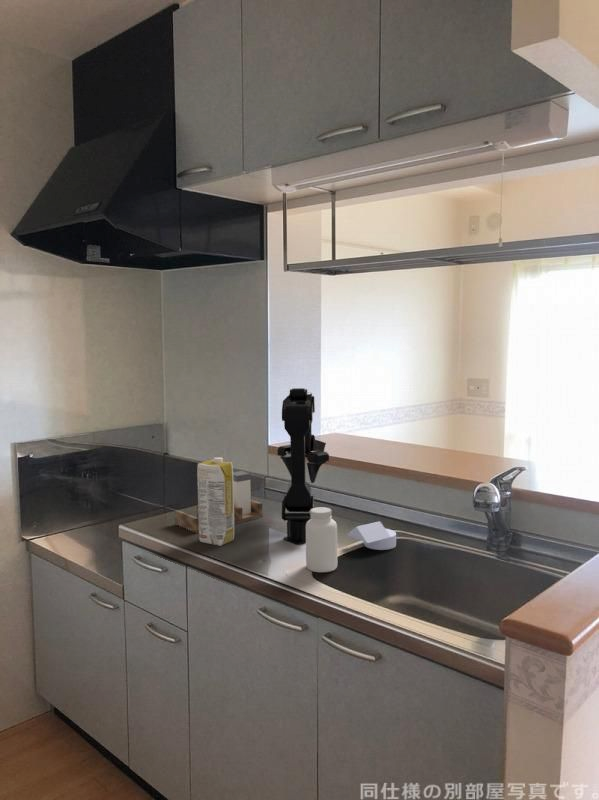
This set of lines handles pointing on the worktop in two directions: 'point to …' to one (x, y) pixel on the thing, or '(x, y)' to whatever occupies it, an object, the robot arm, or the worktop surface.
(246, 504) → the grey piece
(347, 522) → the worktop surface
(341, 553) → the worktop surface
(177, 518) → the comb rack
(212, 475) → the juice carton
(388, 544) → the wedge on round base
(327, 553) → the pill bottle
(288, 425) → the robot arm
